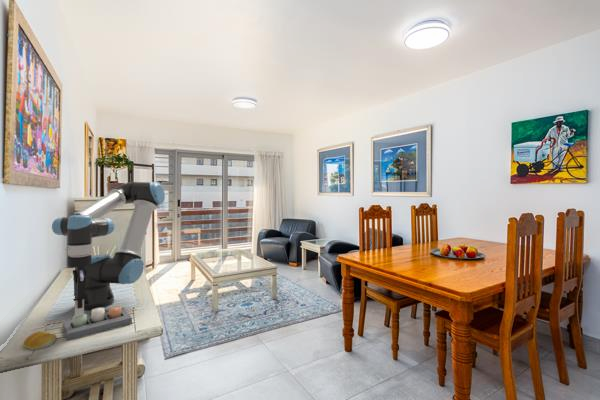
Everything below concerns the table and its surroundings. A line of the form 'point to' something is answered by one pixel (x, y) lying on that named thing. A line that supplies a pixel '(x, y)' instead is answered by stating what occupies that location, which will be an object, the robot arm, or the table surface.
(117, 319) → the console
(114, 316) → the brown egg
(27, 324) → the table surface
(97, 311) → the cream button
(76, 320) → the pale green rounded dome
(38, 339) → the bread roll
